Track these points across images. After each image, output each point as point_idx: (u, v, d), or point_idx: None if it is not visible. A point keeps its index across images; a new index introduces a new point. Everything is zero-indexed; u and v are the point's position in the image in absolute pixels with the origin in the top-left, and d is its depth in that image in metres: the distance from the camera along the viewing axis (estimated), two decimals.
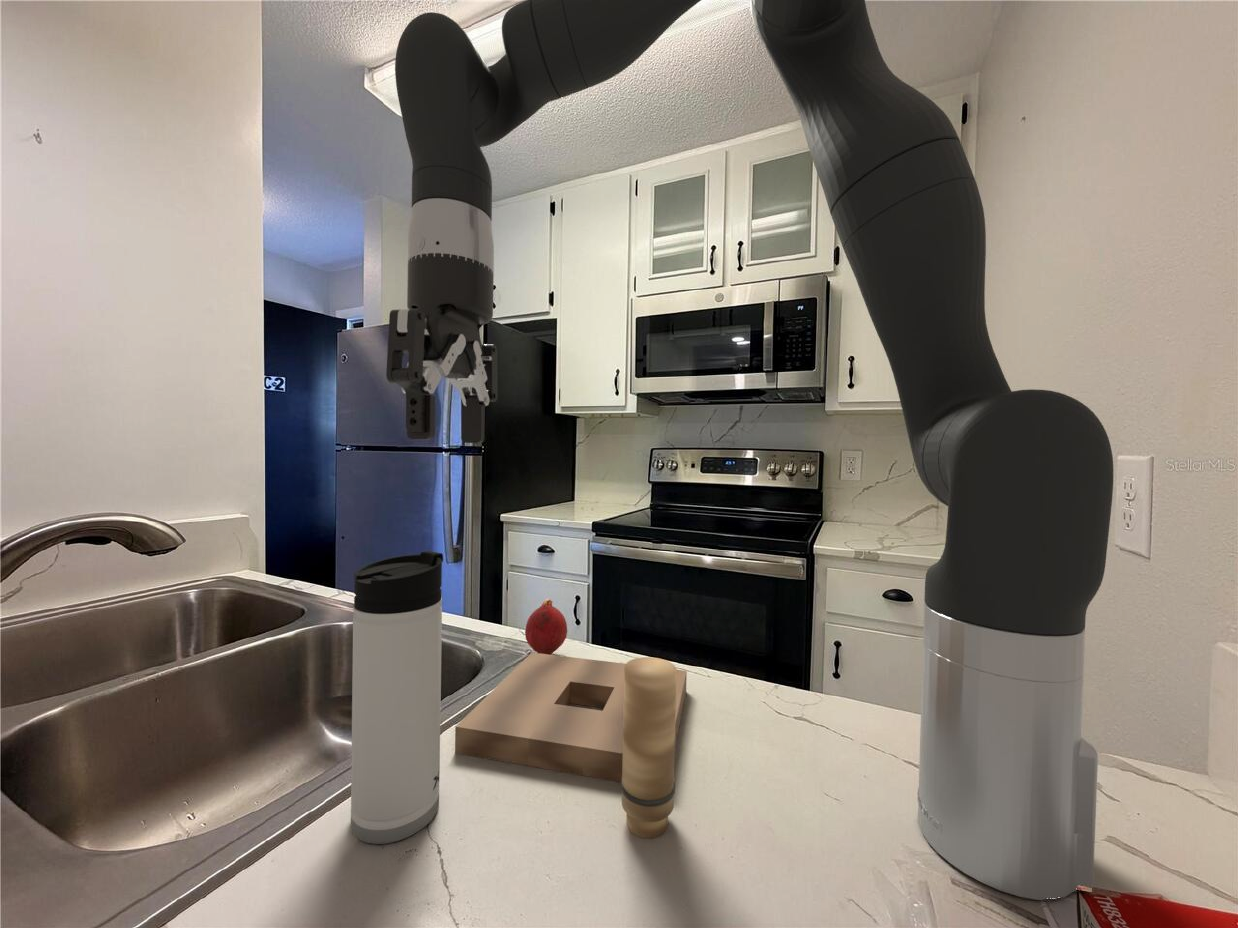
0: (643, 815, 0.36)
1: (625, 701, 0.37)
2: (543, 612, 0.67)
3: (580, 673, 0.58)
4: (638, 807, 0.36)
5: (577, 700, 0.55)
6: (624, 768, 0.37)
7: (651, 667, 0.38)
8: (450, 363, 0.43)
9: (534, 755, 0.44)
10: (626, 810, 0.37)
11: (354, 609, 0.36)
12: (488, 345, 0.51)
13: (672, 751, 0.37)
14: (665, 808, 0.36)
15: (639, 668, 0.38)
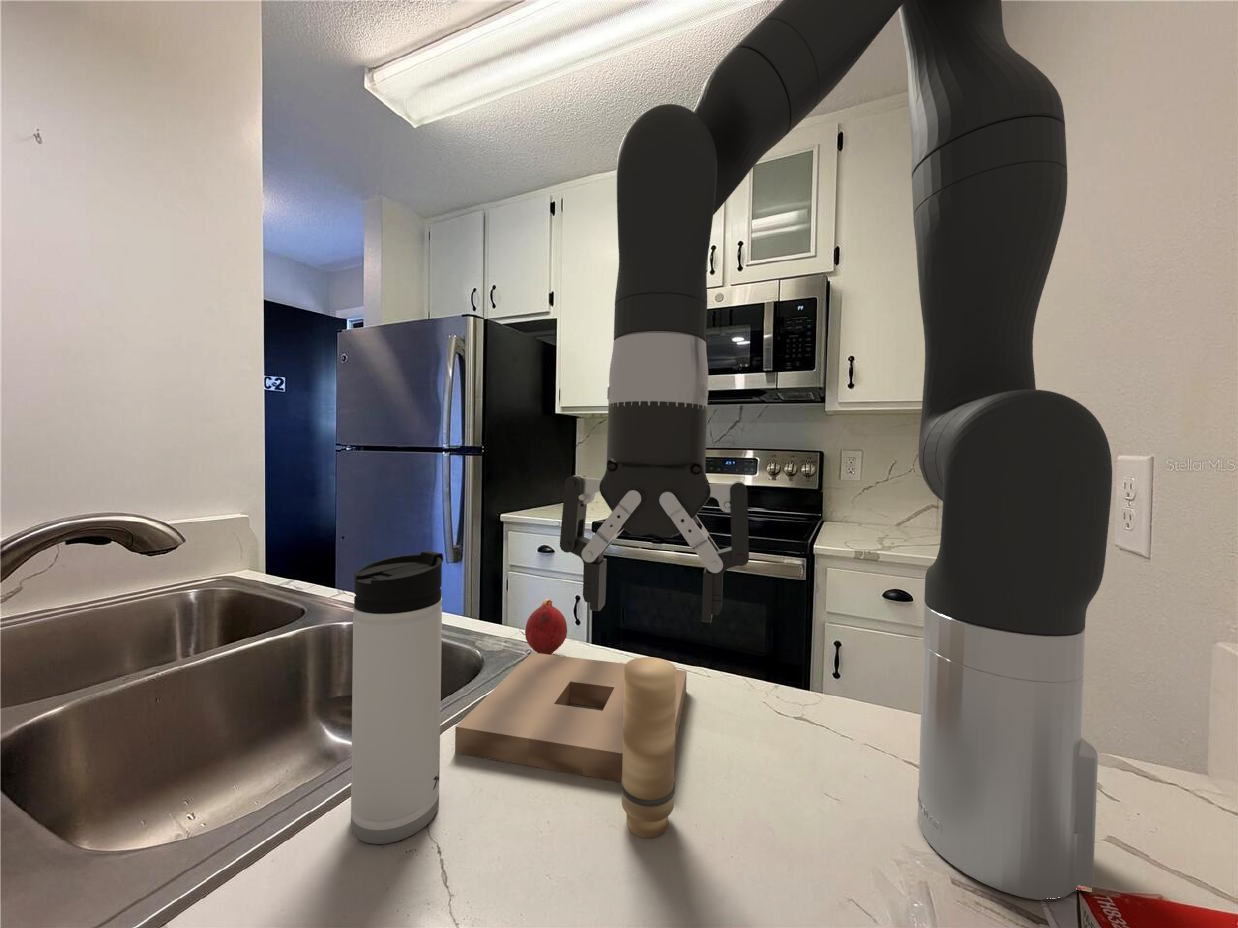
0: (643, 815, 0.36)
1: (625, 701, 0.37)
2: (543, 612, 0.67)
3: (580, 673, 0.58)
4: (638, 807, 0.36)
5: (577, 700, 0.55)
6: (624, 768, 0.37)
7: (651, 667, 0.38)
8: None
9: (534, 755, 0.44)
10: (626, 810, 0.37)
11: (354, 609, 0.36)
12: (584, 477, 0.40)
13: (672, 751, 0.37)
14: (665, 808, 0.36)
15: (639, 668, 0.38)
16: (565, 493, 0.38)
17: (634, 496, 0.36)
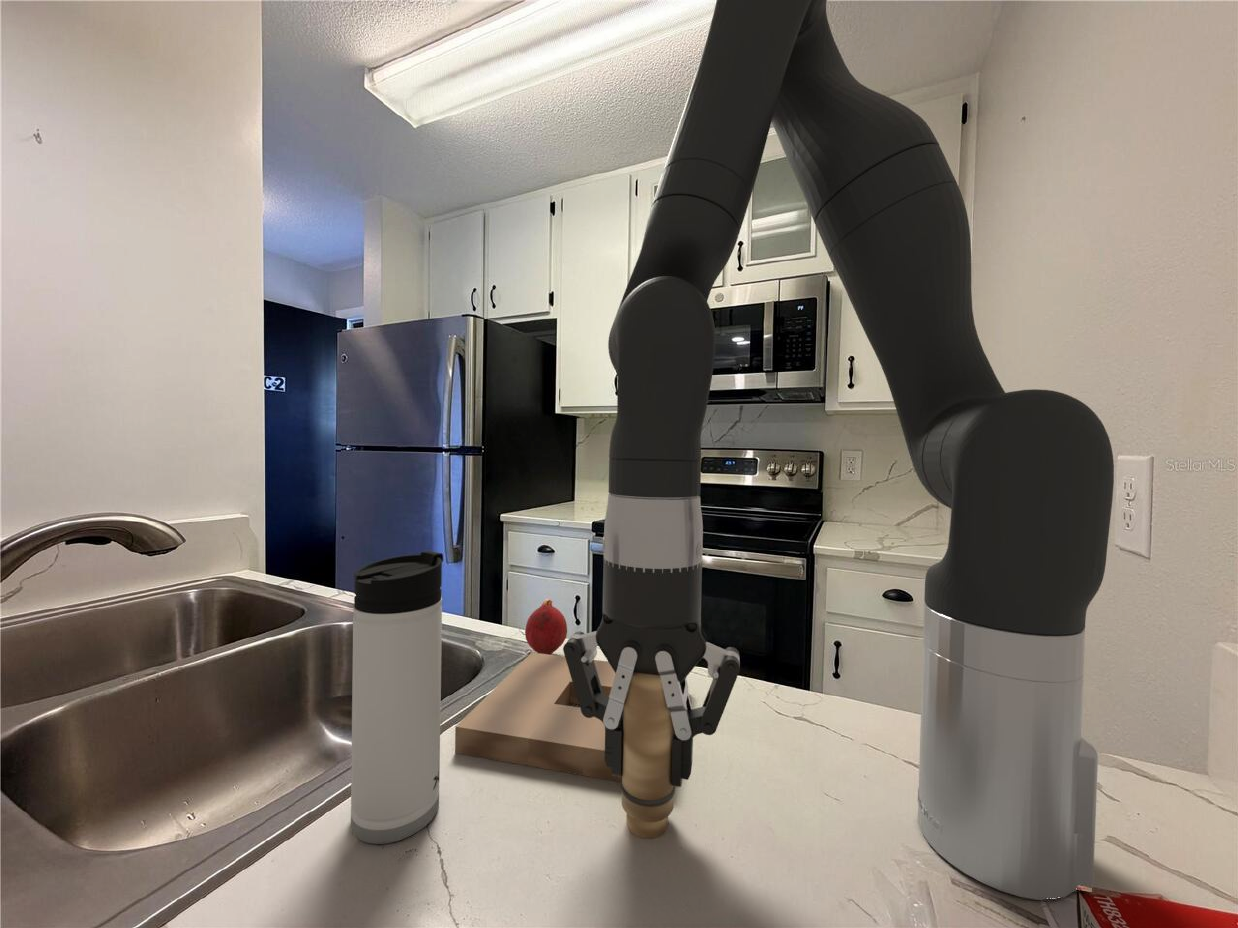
0: (643, 815, 0.36)
1: (625, 701, 0.37)
2: (543, 612, 0.67)
3: None
4: (638, 807, 0.36)
5: (577, 700, 0.55)
6: (624, 768, 0.37)
7: None
8: None
9: (534, 755, 0.44)
10: (626, 810, 0.37)
11: (354, 609, 0.36)
12: (580, 634, 0.40)
13: None
14: (665, 808, 0.36)
15: None
16: (567, 661, 0.38)
17: (629, 652, 0.36)
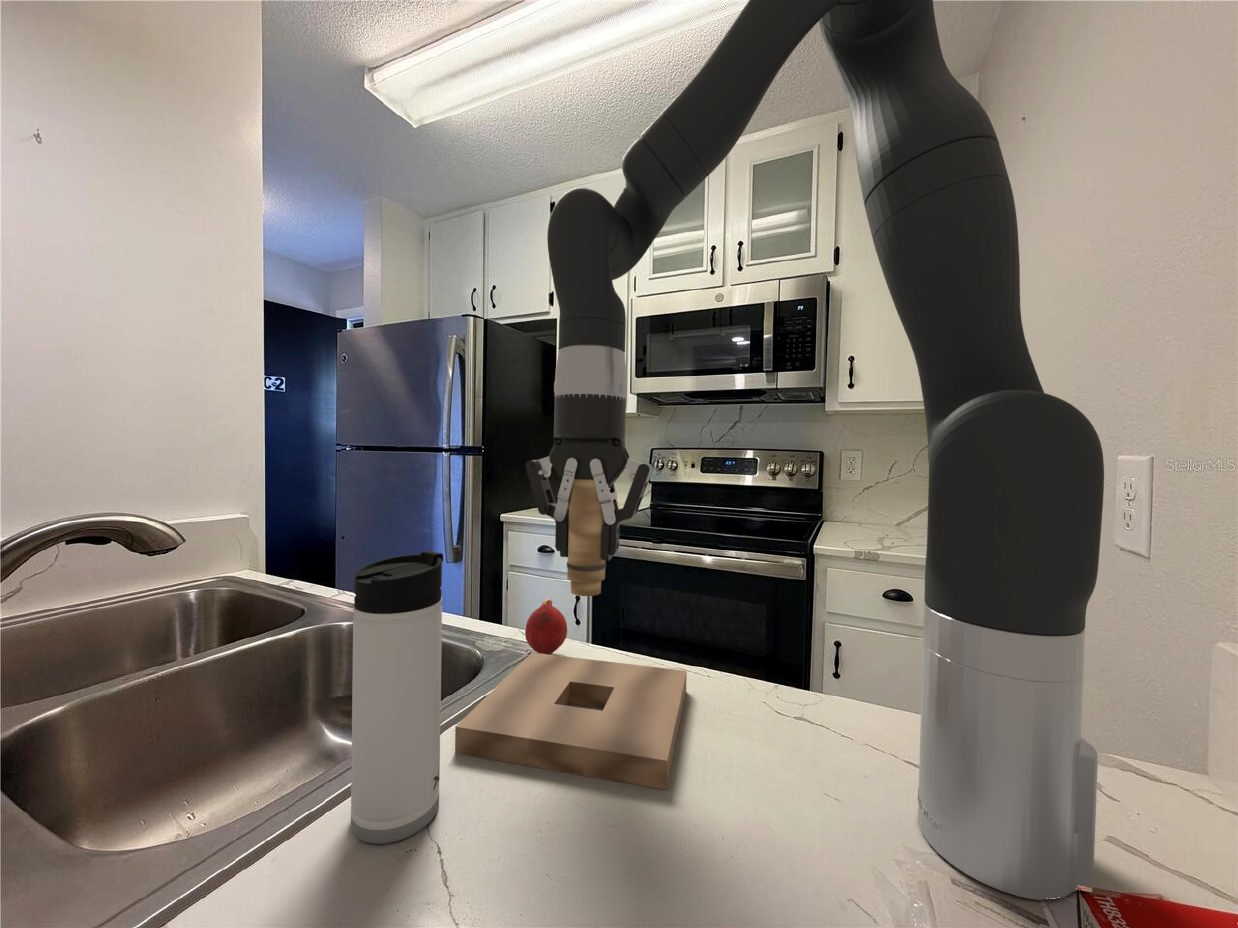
0: (581, 578, 0.50)
1: (569, 501, 0.51)
2: (543, 612, 0.67)
3: (580, 673, 0.58)
4: (577, 572, 0.50)
5: (577, 700, 0.55)
6: (568, 549, 0.51)
7: None
8: None
9: (534, 755, 0.44)
10: (569, 578, 0.51)
11: (354, 609, 0.36)
12: None
13: None
14: (597, 575, 0.50)
15: None
16: (528, 474, 0.52)
17: (572, 462, 0.50)
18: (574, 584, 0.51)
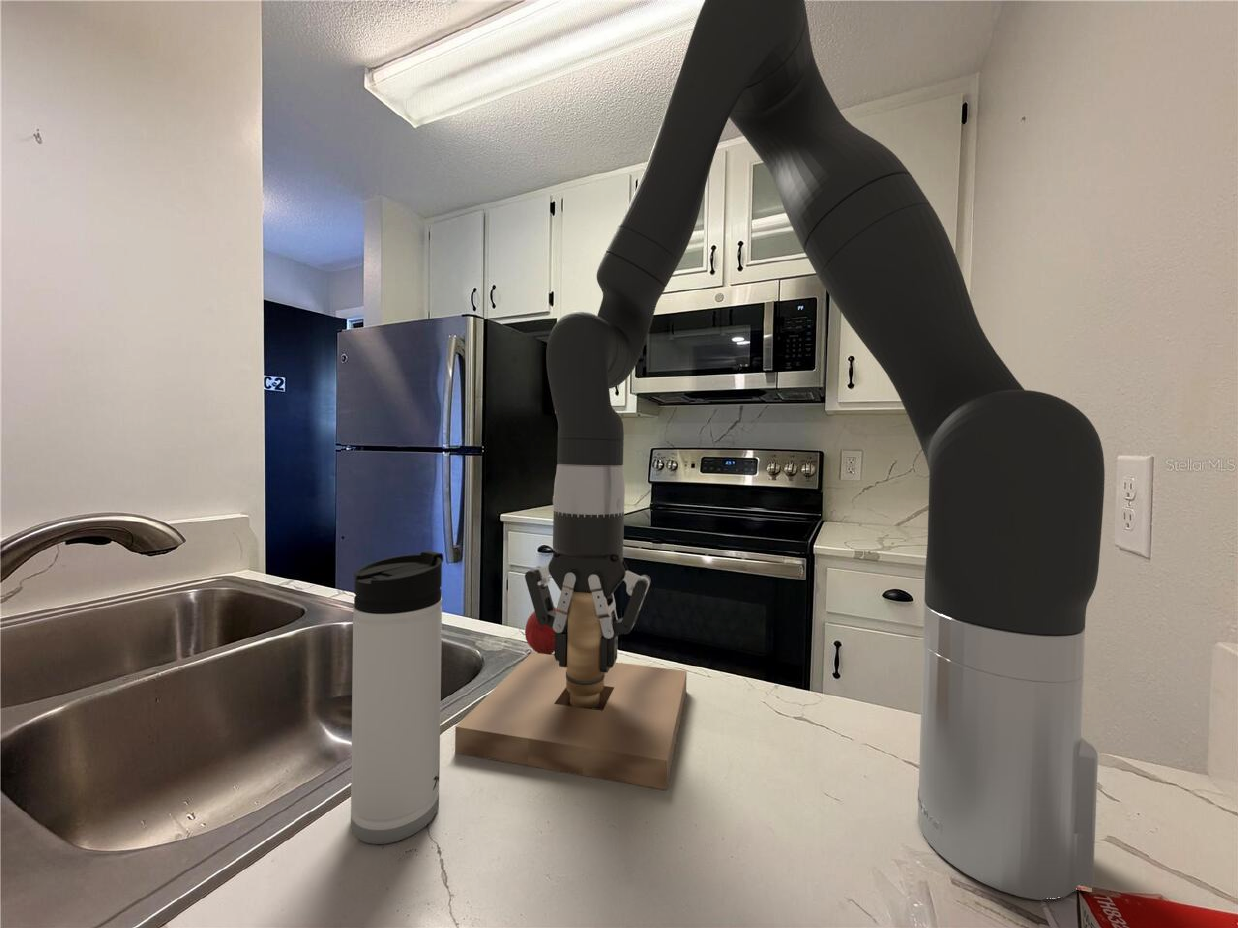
0: (579, 691, 0.51)
1: (568, 612, 0.52)
2: None
3: None
4: (576, 686, 0.51)
5: None
6: (567, 660, 0.52)
7: None
8: None
9: (534, 755, 0.44)
10: (568, 689, 0.51)
11: (354, 609, 0.36)
12: (538, 567, 0.54)
13: None
14: (595, 687, 0.51)
15: None
16: (528, 584, 0.53)
17: (570, 576, 0.51)
18: (573, 695, 0.52)
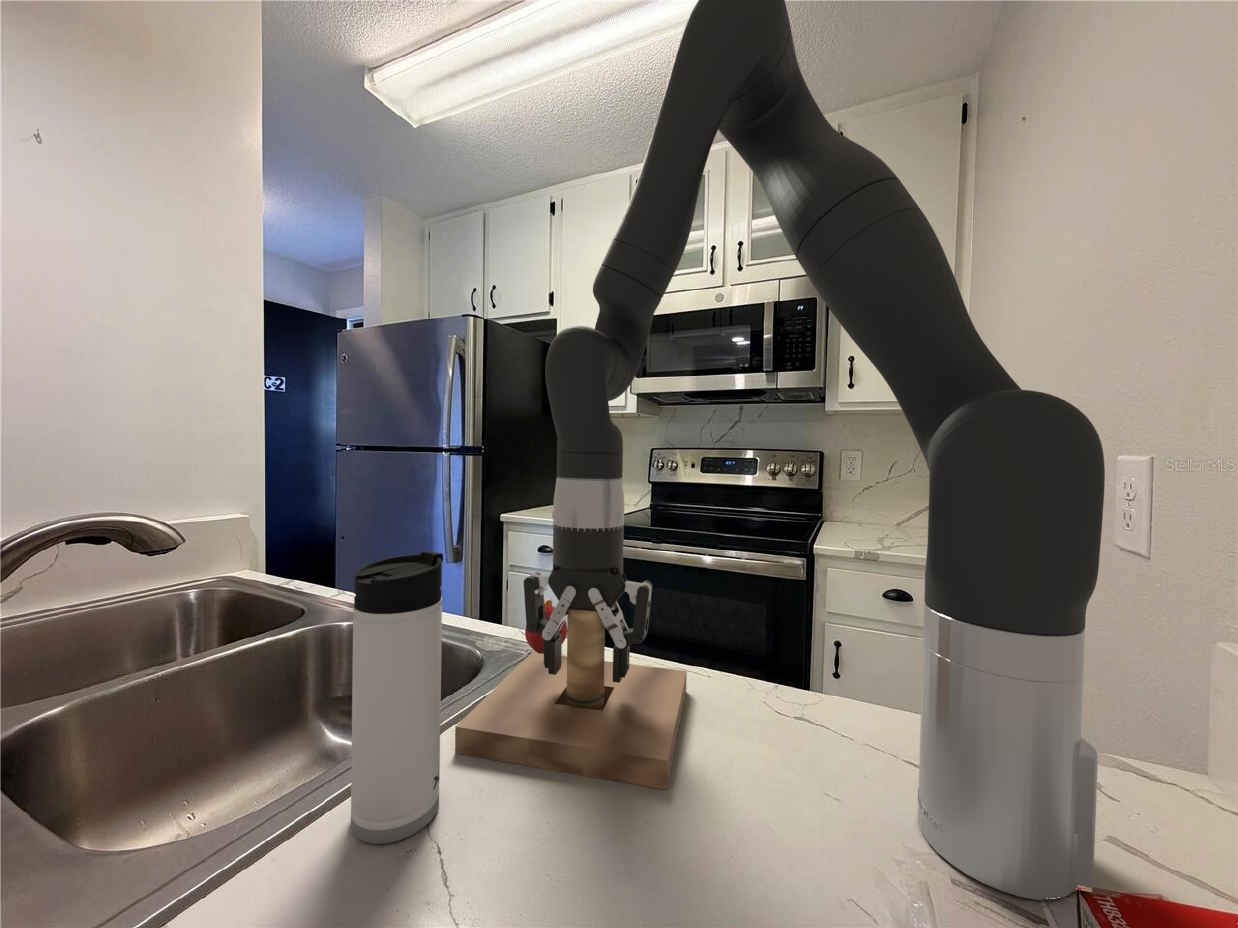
0: None
1: (567, 630, 0.52)
2: None
3: None
4: (576, 704, 0.51)
5: None
6: (567, 678, 0.52)
7: None
8: (611, 607, 0.54)
9: (534, 755, 0.44)
10: None
11: (354, 609, 0.36)
12: (538, 574, 0.54)
13: (601, 665, 0.51)
14: (596, 705, 0.51)
15: None
16: (525, 590, 0.53)
17: (571, 590, 0.51)
18: None
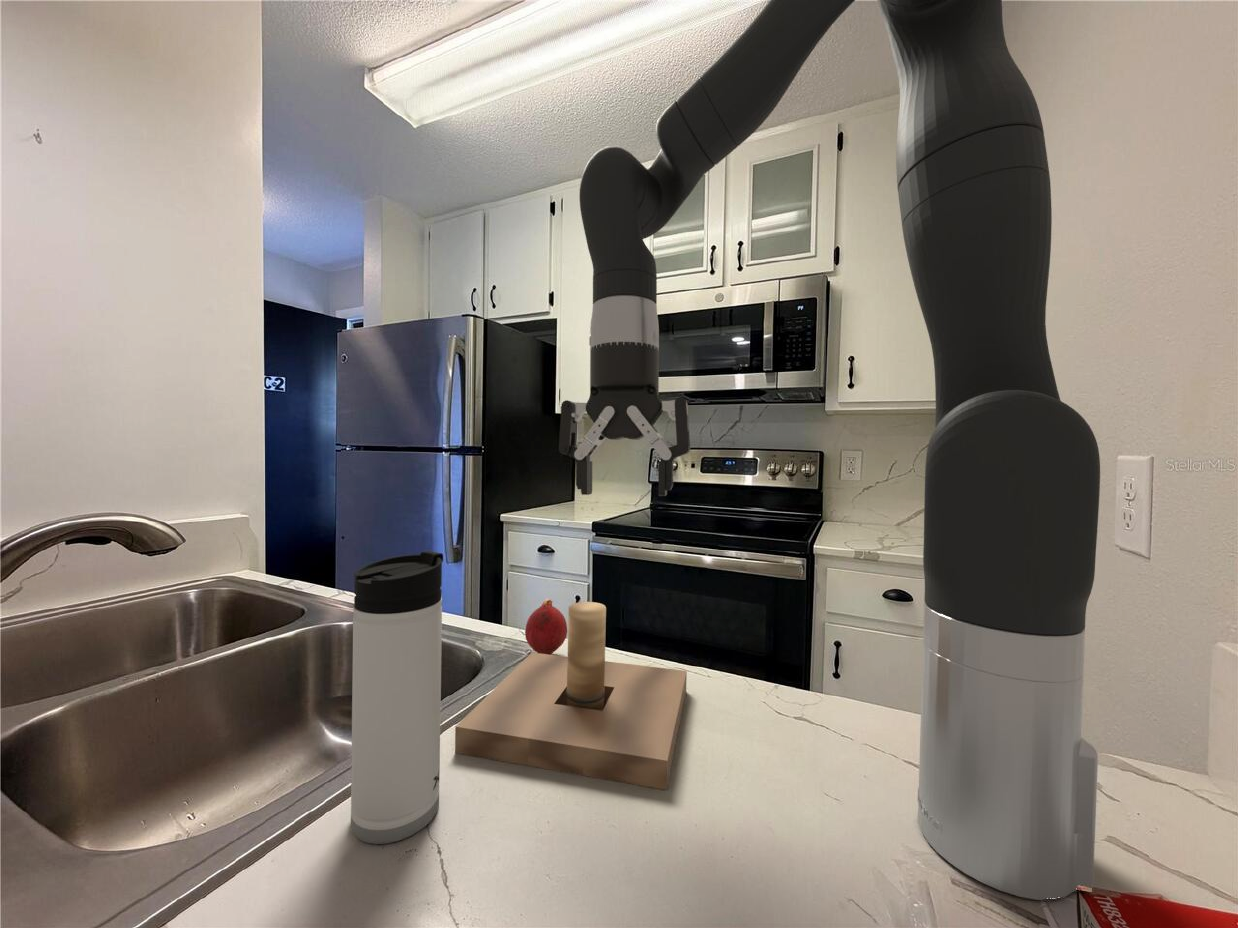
0: None
1: (568, 630, 0.52)
2: (543, 612, 0.67)
3: None
4: (576, 704, 0.51)
5: None
6: (567, 678, 0.52)
7: (588, 607, 0.52)
8: None
9: (534, 755, 0.44)
10: None
11: (354, 609, 0.36)
12: None
13: (601, 666, 0.51)
14: (596, 705, 0.51)
15: (579, 607, 0.52)
16: (561, 412, 0.54)
17: (609, 410, 0.52)
18: None
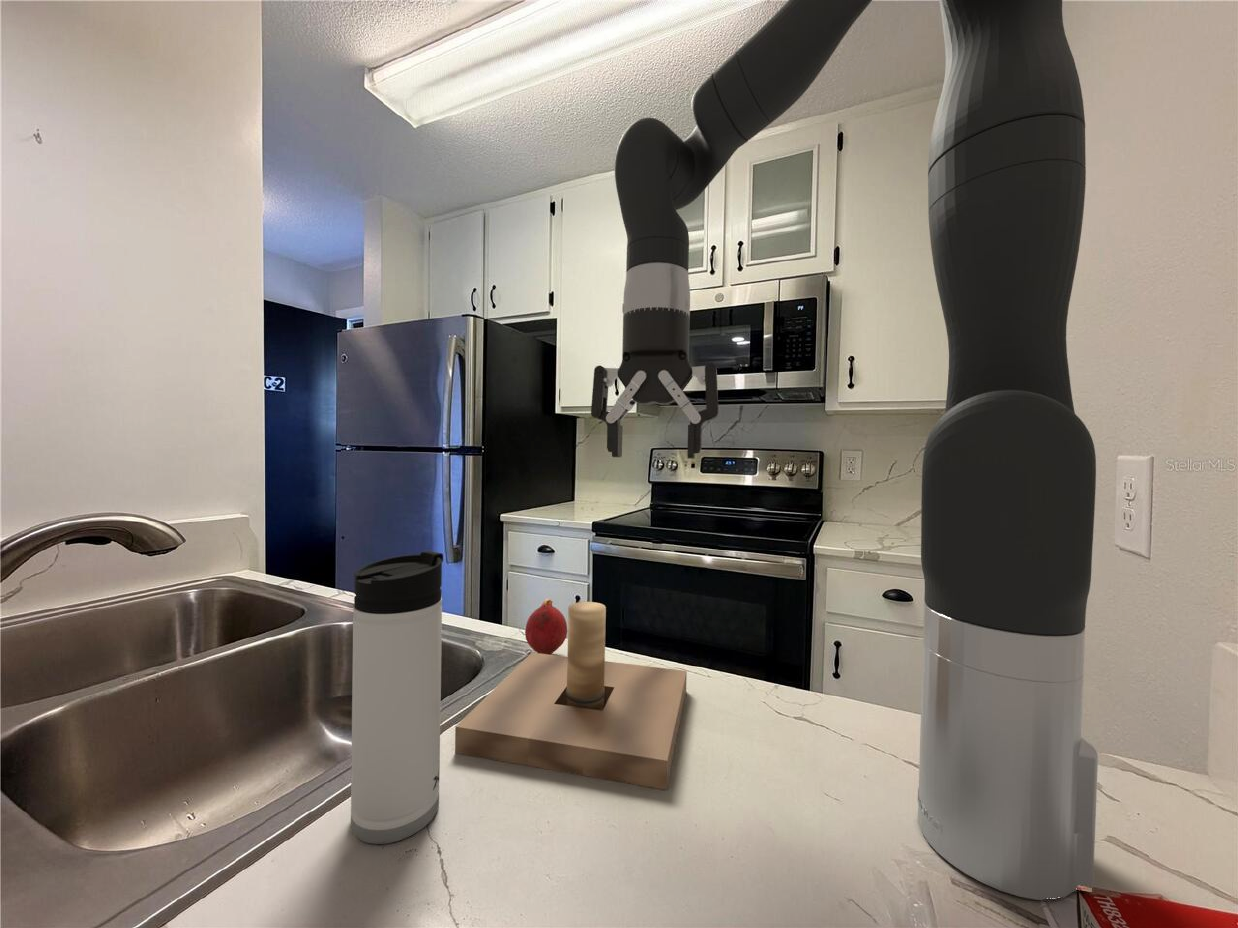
0: None
1: (568, 630, 0.52)
2: (543, 612, 0.67)
3: None
4: (576, 704, 0.51)
5: None
6: (567, 678, 0.52)
7: (588, 607, 0.52)
8: None
9: (534, 755, 0.44)
10: None
11: (354, 609, 0.36)
12: None
13: (601, 666, 0.51)
14: (596, 705, 0.51)
15: (579, 607, 0.52)
16: (594, 377, 0.56)
17: (641, 374, 0.54)
18: None
